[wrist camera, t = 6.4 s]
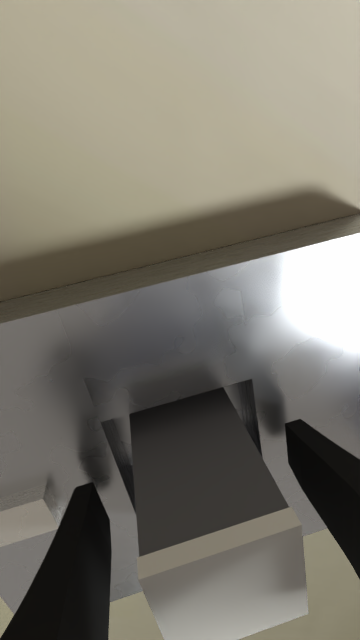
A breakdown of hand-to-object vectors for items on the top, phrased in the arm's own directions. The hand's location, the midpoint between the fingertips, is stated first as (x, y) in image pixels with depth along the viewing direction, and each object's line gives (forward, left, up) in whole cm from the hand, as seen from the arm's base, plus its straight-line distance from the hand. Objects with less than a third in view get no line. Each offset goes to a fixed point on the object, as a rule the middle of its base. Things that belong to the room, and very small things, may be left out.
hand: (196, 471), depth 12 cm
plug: (0, 0, -3) cm, 3 cm away
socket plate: (0, 0, -3) cm, 3 cm away
